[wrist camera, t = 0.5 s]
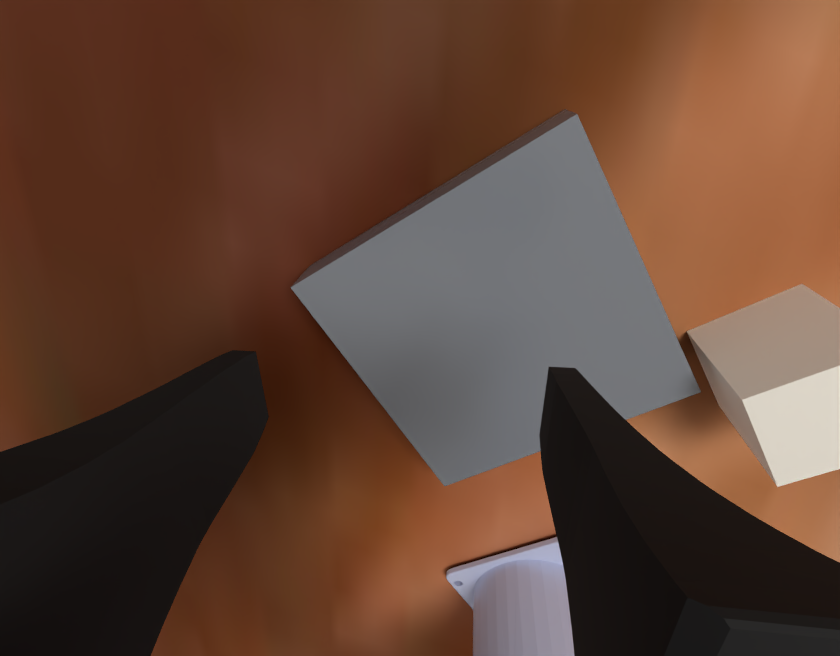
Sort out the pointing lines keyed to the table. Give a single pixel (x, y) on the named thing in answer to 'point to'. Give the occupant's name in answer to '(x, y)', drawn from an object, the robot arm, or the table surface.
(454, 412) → the plate
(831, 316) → the block
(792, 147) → the table surface
